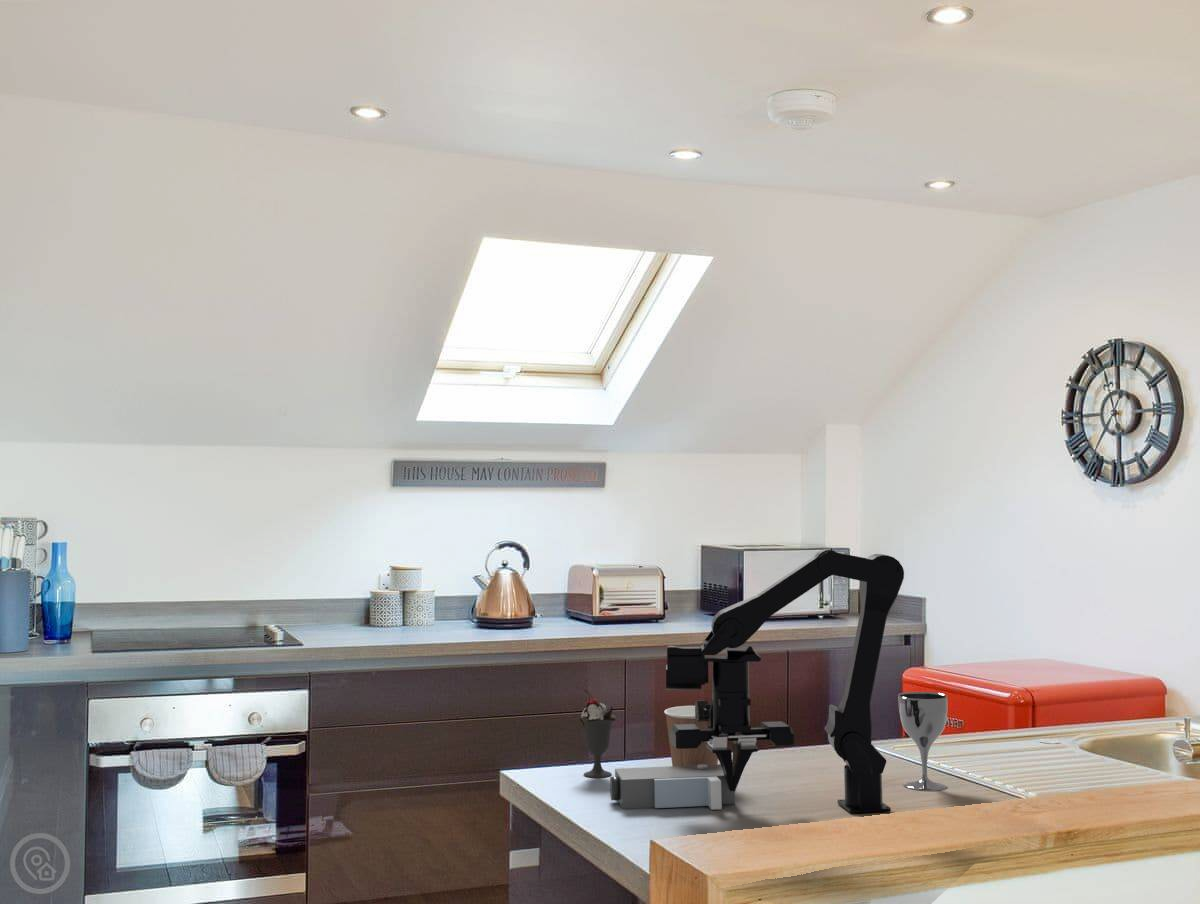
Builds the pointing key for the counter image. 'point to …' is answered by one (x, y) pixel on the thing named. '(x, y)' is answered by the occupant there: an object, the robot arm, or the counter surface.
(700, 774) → the sliding door box
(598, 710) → the sundae
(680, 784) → the side door
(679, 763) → the coffee cup
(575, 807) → the counter surface
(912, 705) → the wine glass
